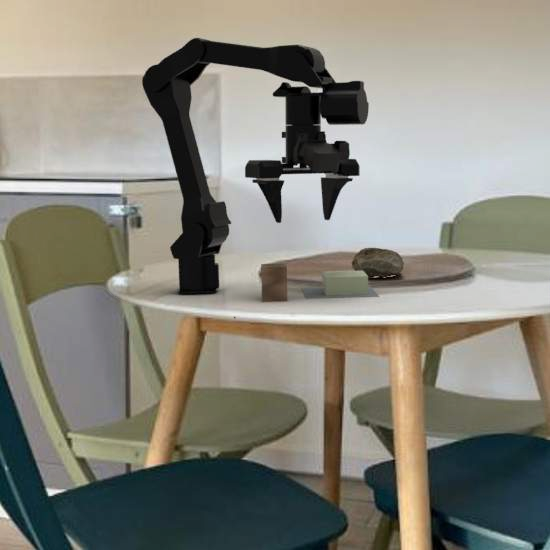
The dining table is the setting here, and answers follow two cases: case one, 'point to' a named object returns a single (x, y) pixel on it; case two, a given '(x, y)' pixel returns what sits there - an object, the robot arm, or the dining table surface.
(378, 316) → the dining table surface
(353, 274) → the base block
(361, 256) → the stone
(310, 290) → the build mat
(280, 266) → the walnut block
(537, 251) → the dining table surface
